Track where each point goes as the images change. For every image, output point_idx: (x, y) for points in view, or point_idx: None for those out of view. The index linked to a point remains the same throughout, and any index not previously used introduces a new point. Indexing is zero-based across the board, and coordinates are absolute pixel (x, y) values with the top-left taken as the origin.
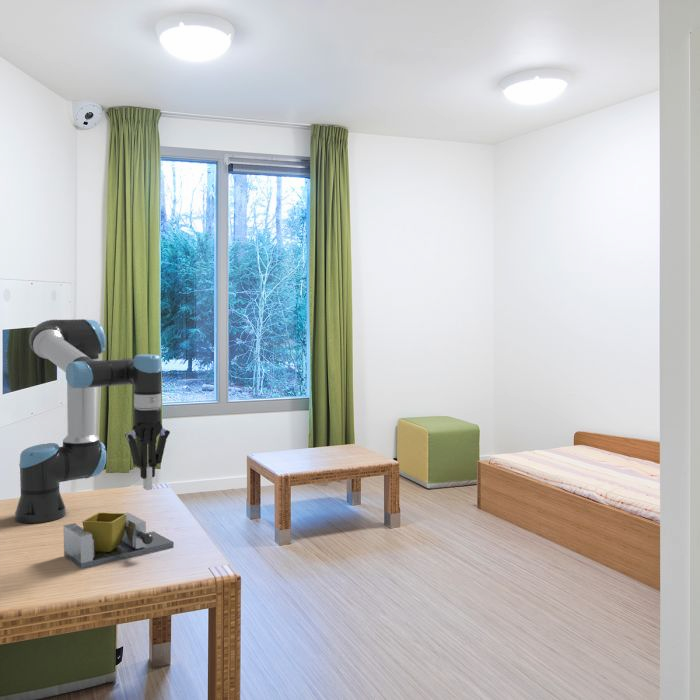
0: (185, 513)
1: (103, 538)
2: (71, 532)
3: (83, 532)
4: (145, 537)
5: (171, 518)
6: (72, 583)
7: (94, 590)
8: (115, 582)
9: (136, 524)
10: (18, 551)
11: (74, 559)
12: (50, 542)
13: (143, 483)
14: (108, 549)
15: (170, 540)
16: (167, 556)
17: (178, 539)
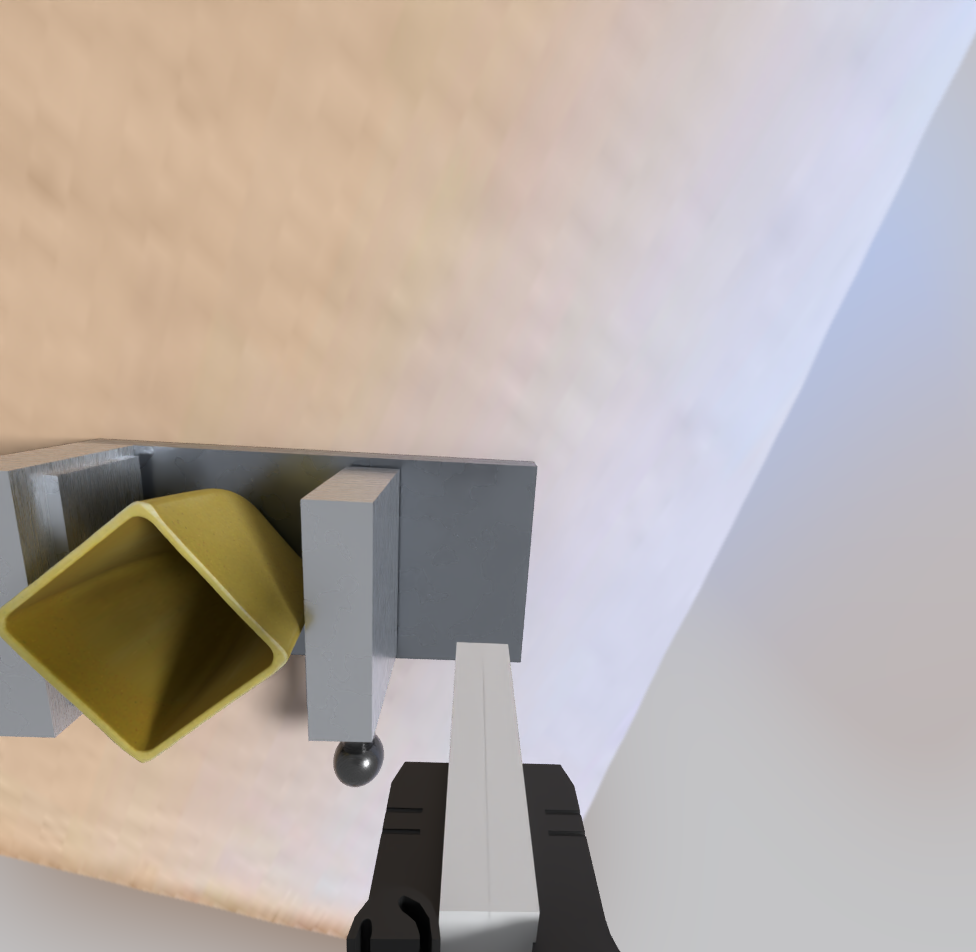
0: (890, 200)
1: (172, 655)
2: None
3: (18, 681)
4: (338, 778)
5: (775, 235)
6: (64, 739)
7: (114, 831)
8: (193, 815)
9: (316, 737)
10: None
11: None
12: (84, 165)
13: (454, 679)
14: (231, 622)
15: (522, 637)
16: (445, 719)
17: (589, 576)
